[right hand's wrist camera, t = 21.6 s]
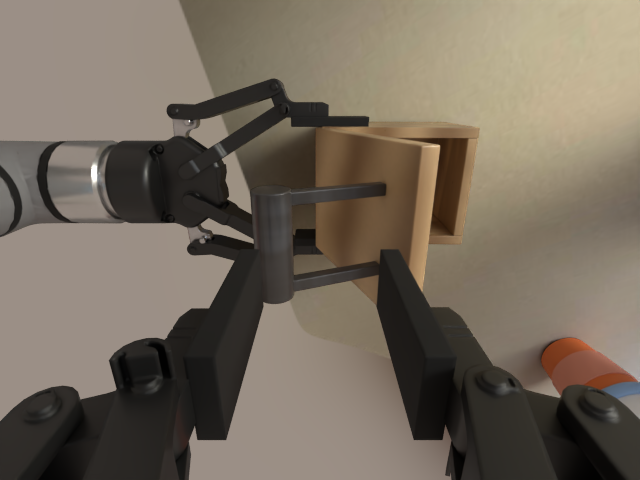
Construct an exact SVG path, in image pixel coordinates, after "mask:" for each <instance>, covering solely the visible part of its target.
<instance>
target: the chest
mask: <svg viewBox="0 0 640 480" xmlns="http://www.w3.org/2000/svg"><path fill="white" fill-rule="evenodd" d="M322 128H333V129H340V130H346V131H353V132H359V133H366V134H373V135H379V136H386V137H392V138H399V139H405V140H412V141H418V142H425V143H431V144H438V145H440V153H439V161H438V169H437V177H436V185H435V193H434V201H433V209H432V217H431V225H430V233H429V241H428V244H461V242H462V235H463V229H464V222H465V216H466V210H467V204H468V198H469V191H470V185H471V179H472V173H473V167H474V160H475V154H476V148H477V142H478V139H477V138H478V137H479V130H480V128H478V127H472V126H465V125H459V124H453V123H447V122H369V126H323V127H322Z"/></svg>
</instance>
